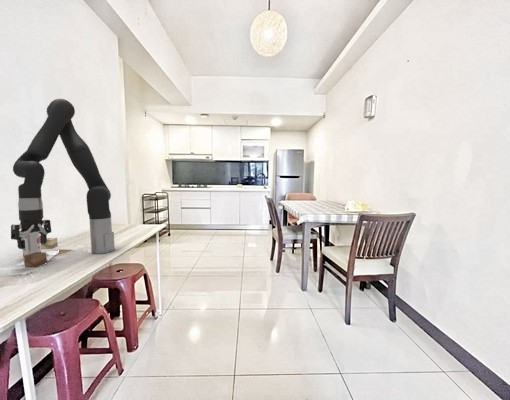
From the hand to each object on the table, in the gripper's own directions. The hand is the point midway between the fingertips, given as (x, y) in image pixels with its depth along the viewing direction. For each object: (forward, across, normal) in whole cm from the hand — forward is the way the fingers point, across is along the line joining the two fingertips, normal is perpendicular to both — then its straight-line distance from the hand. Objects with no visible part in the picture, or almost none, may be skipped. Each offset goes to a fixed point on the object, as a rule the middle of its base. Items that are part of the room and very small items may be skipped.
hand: (33, 246), depth 102 cm
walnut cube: (+8, 0, -1) cm, 8 cm away
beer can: (+9, +8, +11) cm, 16 cm away
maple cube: (+9, +24, +20) cm, 32 cm away
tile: (+8, +16, +5) cm, 19 cm away
